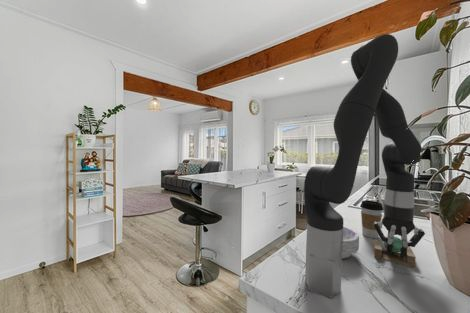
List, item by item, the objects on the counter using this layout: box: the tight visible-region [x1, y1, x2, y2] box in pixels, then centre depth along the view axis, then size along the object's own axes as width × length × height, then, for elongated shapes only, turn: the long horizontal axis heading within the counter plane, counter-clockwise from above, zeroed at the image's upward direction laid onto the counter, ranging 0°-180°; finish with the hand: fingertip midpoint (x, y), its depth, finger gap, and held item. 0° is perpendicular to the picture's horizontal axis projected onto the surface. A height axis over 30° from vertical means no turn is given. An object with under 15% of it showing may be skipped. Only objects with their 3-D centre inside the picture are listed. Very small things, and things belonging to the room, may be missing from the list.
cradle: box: [373, 239, 416, 268], centre depth 75 cm, size 8×11×3 cm
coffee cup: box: [360, 200, 384, 239], centre depth 92 cm, size 8×8×15 cm
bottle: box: [383, 236, 402, 253], centre depth 73 cm, size 5×5×15 cm
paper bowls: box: [342, 226, 360, 260], centre depth 77 cm, size 15×15×8 cm
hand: (396, 255), depth 69 cm, fingers closed on bottle, 2 cm apart
